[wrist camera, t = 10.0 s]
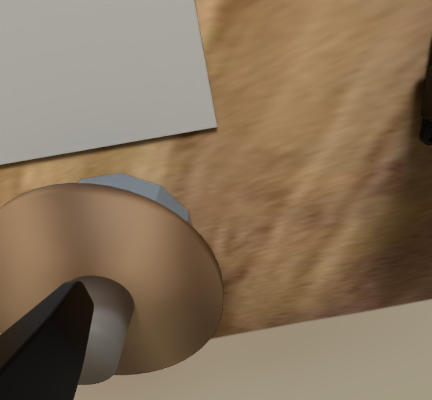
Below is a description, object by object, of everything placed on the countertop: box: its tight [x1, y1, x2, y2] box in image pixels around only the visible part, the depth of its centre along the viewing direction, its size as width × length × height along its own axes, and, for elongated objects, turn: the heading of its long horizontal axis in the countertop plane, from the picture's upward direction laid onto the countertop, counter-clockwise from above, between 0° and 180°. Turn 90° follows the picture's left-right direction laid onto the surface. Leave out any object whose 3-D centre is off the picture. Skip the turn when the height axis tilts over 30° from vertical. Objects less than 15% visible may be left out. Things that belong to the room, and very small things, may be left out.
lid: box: [0, 183, 223, 385], centre depth 17 cm, size 14×14×4 cm
